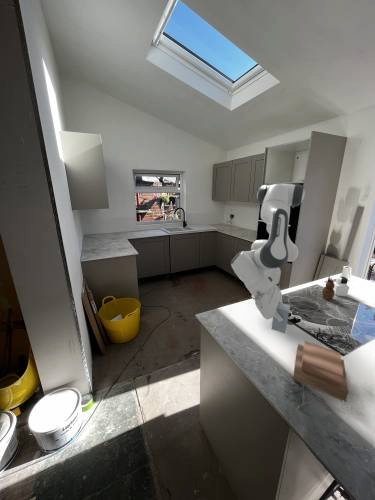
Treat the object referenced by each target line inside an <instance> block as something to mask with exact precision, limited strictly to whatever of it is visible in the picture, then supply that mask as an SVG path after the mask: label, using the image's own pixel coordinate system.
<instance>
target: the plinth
mask: <svg viewBox="0 0 375 500" xmlns="http://www.w3.org/2000/svg"><path fill="white" fill-rule="evenodd" d="M293 368H294V369H293V376H292V380H295V381H296V382H298V383H301V384H303V385H306V386H308V387H310V388H312V389H315V390H316V391H319V392H322V393H325V394H327V395H329V396H331V397H334V398H335V399H338V400H339V401H343V402H347V398H348V396H349V389H348V388H349V387H348V381H347V374H346V367H345V360H344V359H342V356H341V352H338V351H336V350H333V349H329V348H327V347H324V346H321V345H318V344H315V343H313V342H309V341H307V340H305V341H304V343H303V345H302V344H299V343H297V348H296V353H295V361H294V367H293Z"/></svg>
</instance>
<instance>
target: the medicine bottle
mask: <svg viewBox="0 0 375 500" xmlns="http://www.w3.org/2000/svg"><path fill="white" fill-rule="evenodd" d="M335 279H336V280H335V281H333V282H334V288H333V290H334V292H335V294H334V296H337V297H347V296H348V294H349V290H350V286H348V285H347V284H348V281H349V279H348V278H347V277H345V276H342V275H341V276H336V278H335Z"/></svg>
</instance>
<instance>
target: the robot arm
mask: <svg viewBox="0 0 375 500" xmlns="http://www.w3.org/2000/svg"><path fill="white" fill-rule="evenodd" d="M305 196H306V191H305V187H304V186H303V185H302V184H298V183H295V184H291V183H275V184H268V183H267V184H262V185H261V186H260V187H259V188H258V191H257V193H256V198H257V202H258V204H259V205H261V207H260V219H261V220H262V221H263V222H264V223H265V224H266V232H267V233H268V235H269V237H268V239H256V240H255V241H253V242H252V244H251V246H250V250H246V251H244V250H241V251H238V253H237V254H236V255H235V256H234V257H233V258H232V259H231V261H230V266H231V268H232V270H233V272H234V274H236V276H237V277H238V278H239V280H241V281H242V282H243V283H244V286H245V288H246V289H247V290H248V291H249V293H250V294H251V298H252V299H253V300H254V303H255V306H256V308H257V310H258V311H259V313H260V315H261V316H262V317H263V318H264V319H265V320H270V319H271V318H272V319H273V317H275V318H277V320H278V321H279V322H280V321H282V320H283V317H282V315H279V314H278V312H277V311H276V310H277V307H278V304H279V302H280V303H284V302H283V295H282V291H281V290H280V286H281V283H280V279H281V271H282V270H281V269H280V268H281V267H283V266H285V264H286V263H287V262H294V261H296V260H297V258H298V256H299V254H300V253H299V248H298V246H297V245H296V244H295V243H293V241H292V240H291V238H290V235H289V223H290V215H291V208H292V209H294V208H295V207H298V206H300V205H301V204H302V202H303V201H304V199H305Z"/></svg>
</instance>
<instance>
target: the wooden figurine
mask: <svg viewBox="0 0 375 500" xmlns="http://www.w3.org/2000/svg"><path fill="white" fill-rule="evenodd" d="M332 278H333V277H330V276H328V278H327V282H326V283H325V286H324V287H323V289H321V290H322V291H321V294H322V297H323V298H324V299H325V300H327V301H328V300H331V301H332V299H333V298H334V297H335V295H334V294H335V292H334V290H333V288H334V282H335V281H333V279H332Z"/></svg>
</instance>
